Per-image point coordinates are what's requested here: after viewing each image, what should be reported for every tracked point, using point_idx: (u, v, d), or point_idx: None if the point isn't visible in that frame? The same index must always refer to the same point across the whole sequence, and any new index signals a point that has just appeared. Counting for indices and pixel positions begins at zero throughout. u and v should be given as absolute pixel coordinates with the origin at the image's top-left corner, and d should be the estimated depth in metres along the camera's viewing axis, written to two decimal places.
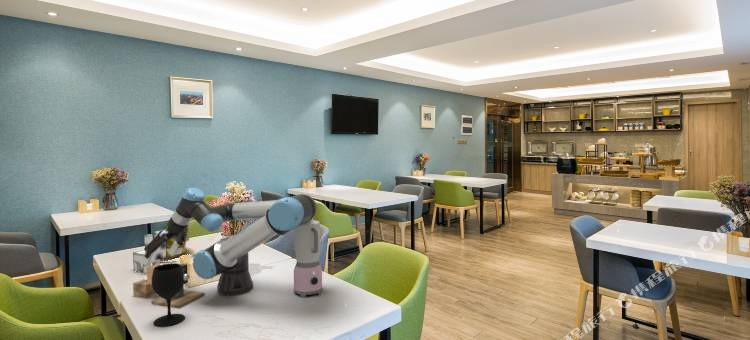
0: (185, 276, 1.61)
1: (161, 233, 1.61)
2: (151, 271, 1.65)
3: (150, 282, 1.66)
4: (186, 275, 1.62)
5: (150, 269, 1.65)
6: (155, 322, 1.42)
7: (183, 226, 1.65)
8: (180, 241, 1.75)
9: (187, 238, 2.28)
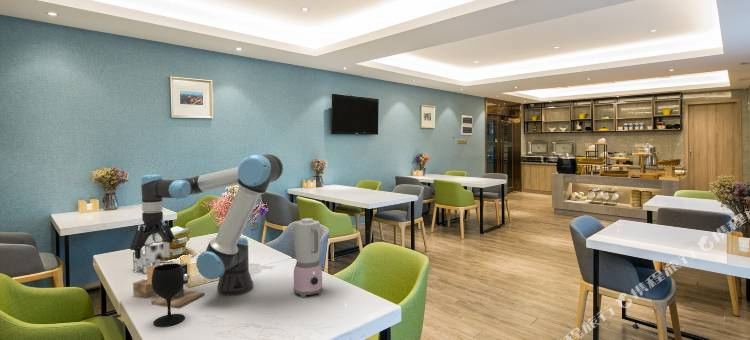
0: (185, 276, 1.61)
1: (138, 227, 1.60)
2: (151, 271, 1.65)
3: (150, 282, 1.66)
4: (186, 275, 1.62)
5: (150, 269, 1.65)
6: (155, 322, 1.42)
7: (157, 213, 1.64)
8: (167, 237, 1.72)
9: (187, 238, 2.28)
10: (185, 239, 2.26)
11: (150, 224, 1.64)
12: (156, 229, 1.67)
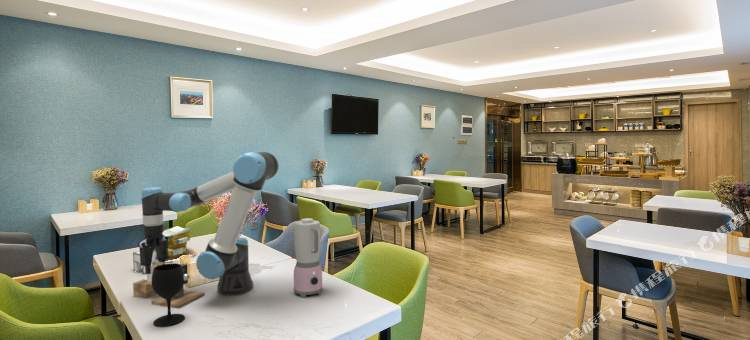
0: (185, 276, 1.61)
1: (140, 244, 1.60)
2: None
3: (150, 282, 1.66)
4: (186, 275, 1.62)
5: None
6: (155, 322, 1.42)
7: (157, 226, 1.64)
8: (162, 256, 1.70)
9: (188, 238, 2.29)
10: (185, 239, 2.26)
11: (150, 237, 1.64)
12: (157, 242, 1.67)
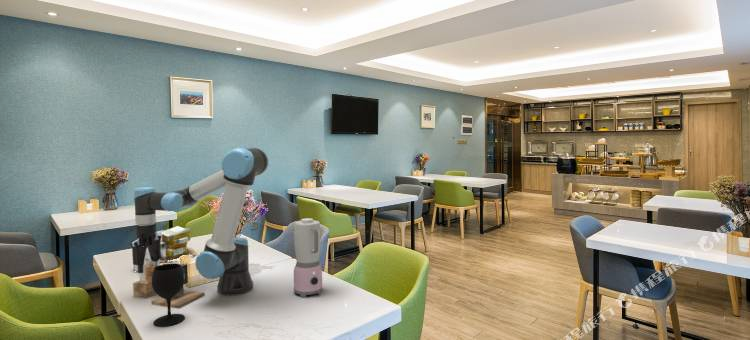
0: None
1: (132, 244, 1.62)
2: None
3: (143, 281, 1.67)
4: None
5: None
6: (155, 322, 1.42)
7: (150, 225, 1.65)
8: (155, 255, 1.71)
9: (188, 238, 2.29)
10: (186, 239, 2.27)
11: (142, 236, 1.65)
12: (150, 241, 1.68)
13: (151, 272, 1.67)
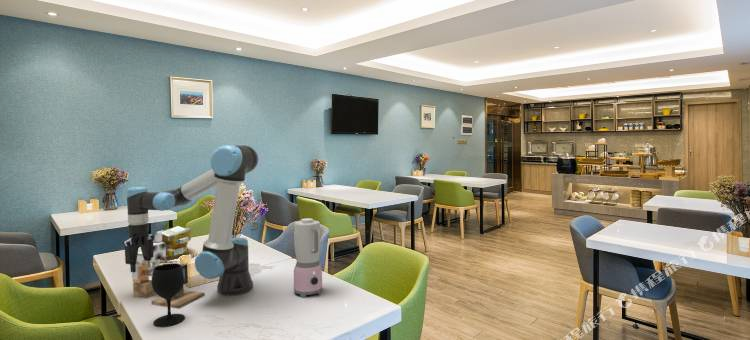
0: None
1: (125, 243, 1.63)
2: None
3: (135, 280, 1.68)
4: None
5: None
6: (155, 322, 1.42)
7: (142, 225, 1.67)
8: (148, 254, 1.72)
9: (189, 238, 2.29)
10: (186, 239, 2.27)
11: (135, 235, 1.66)
12: (142, 241, 1.69)
13: (143, 271, 1.68)
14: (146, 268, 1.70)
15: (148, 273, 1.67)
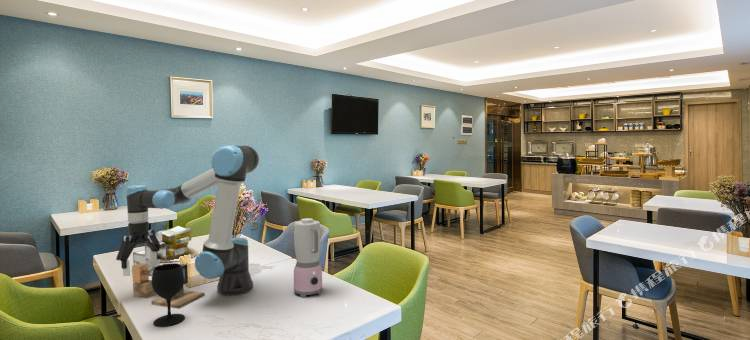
0: None
1: (124, 237, 1.62)
2: (136, 269, 1.67)
3: (135, 280, 1.68)
4: None
5: (135, 267, 1.68)
6: (155, 322, 1.42)
7: (142, 223, 1.67)
8: (154, 247, 1.75)
9: (189, 238, 2.29)
10: (187, 239, 2.27)
11: (136, 234, 1.66)
12: (142, 239, 1.69)
13: (143, 271, 1.68)
14: (146, 268, 1.70)
15: (148, 273, 1.67)
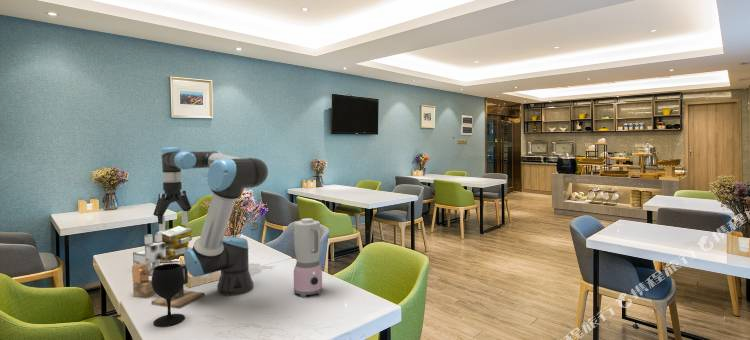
0: None
1: (160, 194, 1.73)
2: (136, 269, 1.67)
3: (135, 280, 1.68)
4: None
5: (135, 267, 1.68)
6: (155, 322, 1.42)
7: (176, 182, 1.78)
8: (185, 207, 1.86)
9: (190, 238, 2.29)
10: (187, 238, 2.27)
11: (170, 193, 1.77)
12: (176, 198, 1.80)
13: (143, 271, 1.68)
14: (146, 268, 1.70)
15: (148, 273, 1.67)
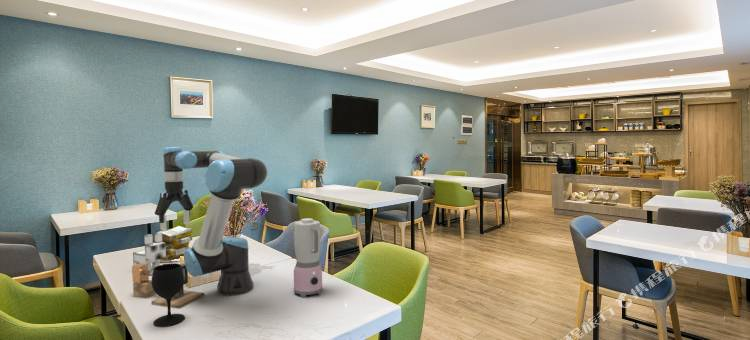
0: None
1: (162, 194, 1.74)
2: (136, 269, 1.67)
3: (135, 280, 1.68)
4: None
5: (135, 267, 1.68)
6: (155, 322, 1.42)
7: (178, 181, 1.78)
8: (187, 206, 1.87)
9: (190, 238, 2.29)
10: (188, 238, 2.27)
11: (172, 192, 1.78)
12: (177, 197, 1.81)
13: (143, 271, 1.68)
14: (146, 268, 1.70)
15: (148, 273, 1.67)
